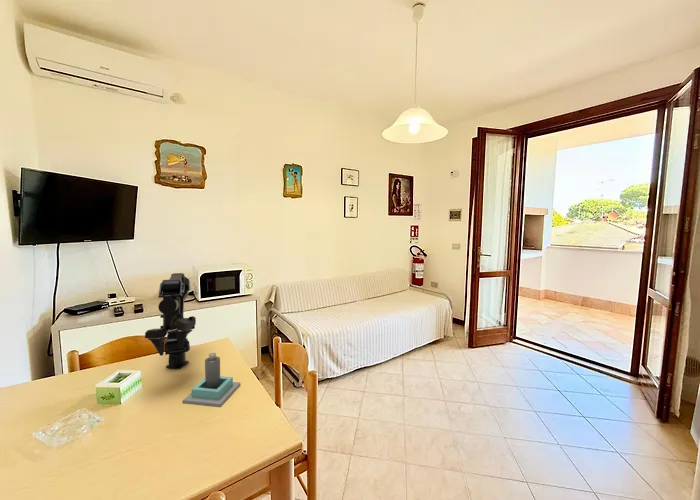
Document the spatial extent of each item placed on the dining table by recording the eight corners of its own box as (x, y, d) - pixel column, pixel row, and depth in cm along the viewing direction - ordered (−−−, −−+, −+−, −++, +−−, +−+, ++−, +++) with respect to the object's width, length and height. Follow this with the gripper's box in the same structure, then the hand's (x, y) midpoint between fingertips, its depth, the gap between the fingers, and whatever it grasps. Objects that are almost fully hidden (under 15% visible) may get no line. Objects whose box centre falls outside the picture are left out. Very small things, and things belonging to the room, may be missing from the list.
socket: (206, 381, 116) (206, 372, 115) (240, 385, 114) (240, 375, 114) (182, 402, 102) (182, 391, 101) (220, 406, 100) (220, 395, 100)
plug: (206, 388, 109) (205, 352, 108) (220, 386, 111) (220, 350, 110) (204, 395, 105) (204, 358, 103) (220, 393, 106) (219, 356, 105)
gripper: (170, 314, 104) (169, 359, 103) (206, 308, 122) (206, 346, 121) (144, 315, 106) (143, 359, 105) (183, 308, 124) (183, 346, 123)
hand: (171, 352), depth 113 cm, fingers open, 9 cm apart
